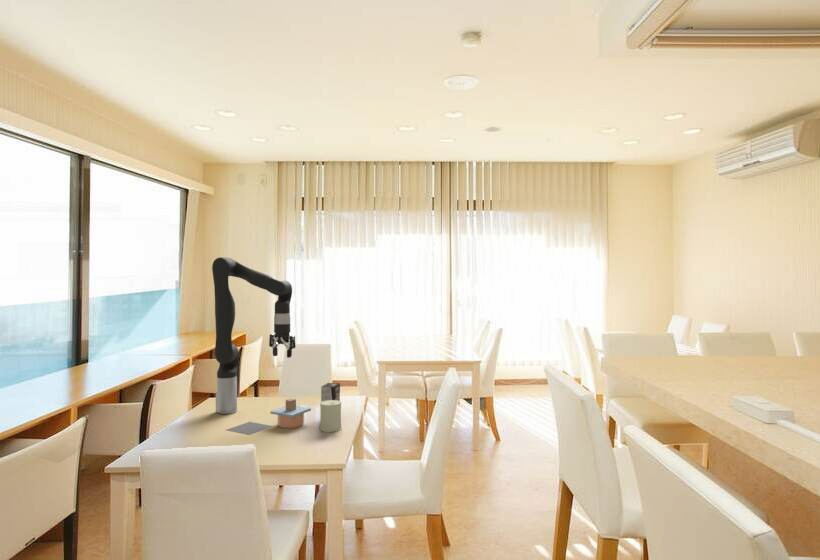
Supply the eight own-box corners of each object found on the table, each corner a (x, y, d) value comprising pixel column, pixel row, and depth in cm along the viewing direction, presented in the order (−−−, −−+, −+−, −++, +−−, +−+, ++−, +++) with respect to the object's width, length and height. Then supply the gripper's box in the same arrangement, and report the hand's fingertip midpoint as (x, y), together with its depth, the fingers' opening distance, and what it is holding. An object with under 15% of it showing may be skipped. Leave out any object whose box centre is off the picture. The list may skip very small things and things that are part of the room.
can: (323, 433, 218) (323, 405, 218) (317, 427, 227) (317, 400, 226) (344, 430, 223) (344, 402, 222) (337, 424, 231) (337, 398, 231)
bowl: (272, 426, 227) (272, 413, 227) (289, 420, 237) (289, 407, 237) (292, 430, 222) (292, 416, 222) (308, 423, 232) (308, 410, 231)
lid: (270, 413, 227) (270, 401, 227) (289, 407, 238) (289, 395, 238) (292, 417, 221) (292, 404, 221) (310, 410, 232) (310, 398, 232)
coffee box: (333, 422, 234) (333, 387, 234) (320, 421, 236) (320, 386, 235) (340, 416, 243) (340, 382, 243) (327, 416, 244) (327, 382, 244)
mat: (225, 430, 221) (225, 429, 221) (249, 422, 234) (249, 421, 234) (249, 435, 215) (249, 434, 215) (273, 426, 227) (273, 426, 227)
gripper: (265, 322, 245) (265, 356, 245) (288, 324, 238) (288, 359, 238) (276, 321, 251) (276, 354, 252) (299, 322, 245) (299, 356, 245)
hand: (282, 356), depth 245 cm, fingers open, 8 cm apart
